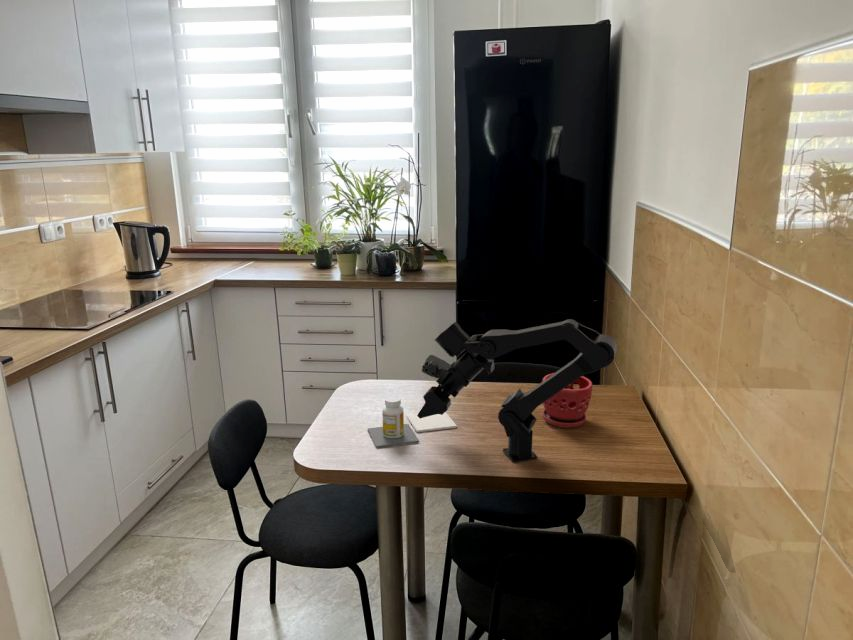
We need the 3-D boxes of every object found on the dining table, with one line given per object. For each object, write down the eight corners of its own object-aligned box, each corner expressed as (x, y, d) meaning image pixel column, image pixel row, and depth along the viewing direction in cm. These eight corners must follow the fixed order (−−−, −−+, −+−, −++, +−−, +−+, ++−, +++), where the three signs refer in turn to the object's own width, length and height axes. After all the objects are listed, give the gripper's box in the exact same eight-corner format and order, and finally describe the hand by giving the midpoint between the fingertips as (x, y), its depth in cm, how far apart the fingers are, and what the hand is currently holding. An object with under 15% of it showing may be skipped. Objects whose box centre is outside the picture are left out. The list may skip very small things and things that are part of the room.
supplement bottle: (397, 428, 168) (396, 393, 166) (407, 435, 164) (407, 400, 161) (379, 433, 165) (378, 397, 163) (389, 440, 161) (388, 404, 159)
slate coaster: (419, 442, 161) (419, 440, 161) (376, 448, 158) (376, 446, 158) (408, 425, 171) (408, 423, 171) (367, 430, 168) (367, 428, 168)
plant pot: (537, 428, 169) (539, 385, 166) (543, 410, 182) (545, 370, 179) (588, 434, 166) (591, 390, 163) (591, 415, 178) (593, 374, 175)
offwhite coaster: (456, 427, 170) (456, 425, 170) (416, 432, 167) (416, 430, 167) (444, 412, 180) (444, 410, 180) (406, 416, 177) (406, 414, 177)
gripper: (450, 334, 163) (413, 373, 169) (429, 360, 146) (388, 401, 152) (482, 365, 163) (443, 402, 169) (464, 394, 146) (421, 434, 152)
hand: (424, 409), depth 161 cm, fingers open, 9 cm apart
